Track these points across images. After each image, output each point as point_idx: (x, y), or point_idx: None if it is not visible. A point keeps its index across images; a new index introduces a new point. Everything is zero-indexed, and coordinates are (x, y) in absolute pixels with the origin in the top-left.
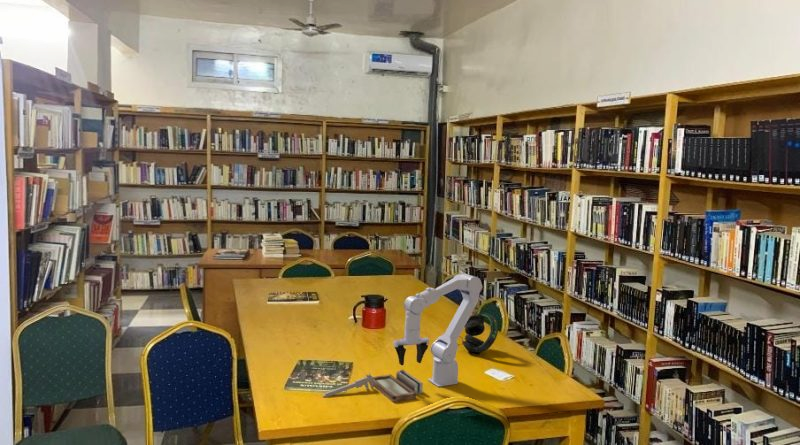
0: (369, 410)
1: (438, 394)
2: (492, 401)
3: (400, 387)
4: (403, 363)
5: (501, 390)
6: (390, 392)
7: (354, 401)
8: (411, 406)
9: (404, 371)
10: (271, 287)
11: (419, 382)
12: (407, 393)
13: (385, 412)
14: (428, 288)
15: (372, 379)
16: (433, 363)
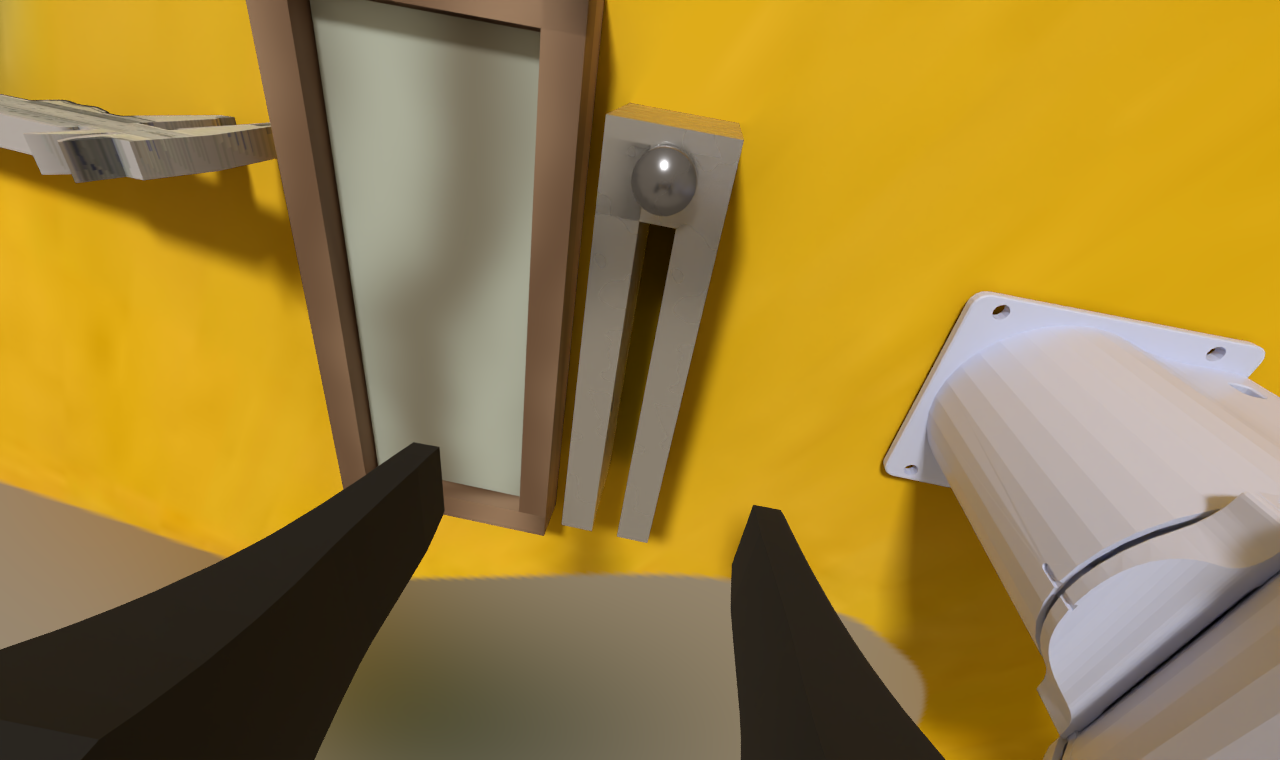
0: (181, 467)
1: None
2: (945, 739)
3: (517, 353)
4: (426, 539)
5: None
6: (352, 429)
7: (82, 307)
8: (460, 557)
9: (712, 184)
10: None
11: (631, 518)
12: (476, 507)
13: (275, 530)
14: None
15: (188, 173)
16: (1072, 510)
